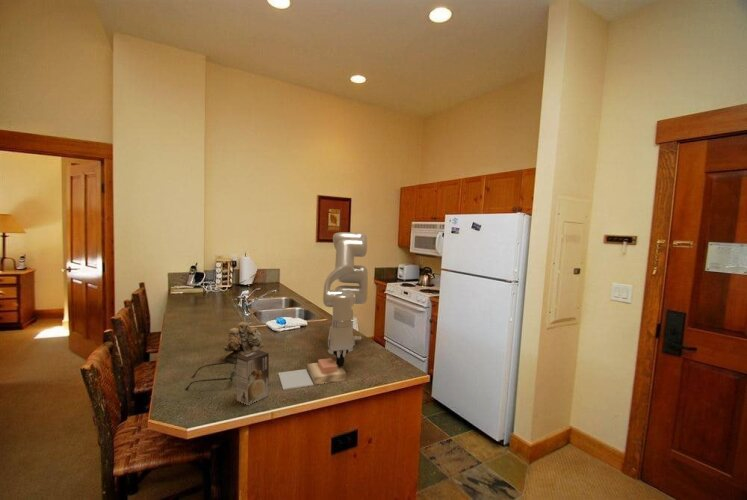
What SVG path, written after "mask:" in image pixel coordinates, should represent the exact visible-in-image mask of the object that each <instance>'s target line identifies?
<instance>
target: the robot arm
mask: <svg viewBox="0 0 747 500" xmlns="http://www.w3.org/2000/svg"><path fill="white" fill-rule="evenodd" d="M332 242H333V246H334V249H335V251H336V252H335V263H334V265H335V267H334V269H333V270H332V271H331V272H330V273H329V274H328V276H327V277H326V279H325V282H324V286H323V294H322V297H323V298H322V301H323V305H324V306H325V307H328V308H332V323H331V325H330V327H329V332H328V338H327V347H328V350H327V352H328V354H331V355H334V356H335V357H336V360H335V361H336V363H337V365H338V366H339V367H342V368H343V367H344V364H345V358H346V355H347V354H348V353H350V352H352V351H354V348H353V347H354V346H356V341H362V336H360V335H359V336H358V335H354V334H353V333H354V332H353V331H354V310H353V309H352V307H353V306H354V305H362V304H363V305H364V304H365V303H366V302H367V301H368V287H369V286H368V284H369V283H368V280H369V274H368V273H369V272H368V269H367V267H366V266H365V265H361V264H360V265H359V264H358V265H355V257H357V258H358V257H361V258H363V257H365V256H366V255H367V252H368V237H367V235H366V234H365V233H362V232H346V231H343V232H342V231H341V232H335V233H334V234H333V236H332ZM337 280H338V281H339V282H340V283H343V284H344V285H338V286H336V287H335V288H334V289H331V286H332V284H333V283H334V282H335V281H337ZM345 284H357V285H345Z"/></svg>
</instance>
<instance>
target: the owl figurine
mask: <svg viewBox="0 0 747 500" xmlns="http://www.w3.org/2000/svg"><path fill="white" fill-rule="evenodd" d="M261 335H262V334H261V333H260V332H259V330H258V328H257V327H251V328H249V329H248V323H247V322H245V321H241V322H239V323H238V324H237V325H236V327H232V328H230V329H229V331H228V337H227V344H225V345H224V346H223V347H222V349H223V350H224V352H231V353H229V354H228V355H226V356H225V358H224V361H225V362H231V361H237V357H239V356H241V355H244V354H247V353H250V352H253V351H256V350H259V351H261V349H262V348H263V347H264V346H265V345H264V343H262V336H261ZM230 364H232V365H233V364H234V365H235V363H230Z"/></svg>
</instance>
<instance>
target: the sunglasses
mask: <svg viewBox="0 0 747 500" xmlns="http://www.w3.org/2000/svg"><path fill="white" fill-rule="evenodd" d="M231 363H235V364H234V366H233V369H232V372H231V373H230V374H231V375H230V377H223V378H220V377H219V378H211V379H200V380H195V381H192V382H190V383H189V384H188V386H187V387H186V388H185V390H187V391H188V390H189V388H190V386H191V385H192V384H194V383H198V382H199V383H200V382H207V381H208V382H209V381H210V382H212V381H226V380H230V387H231V386H232V384H233V380H234V376H235V373H236V371H237V361H231V362H226V361H225V362H219V363H217V362H216V363H211V364H206V365H203V366H200V367H199V368H198V369H197V370H196V371H195V372H194V374H193V375H192V376H191V379H194V378H195V377H196V375H197V373H198V371H200V370H201V369H203V368H205V367H209V366H217V365H227V364H231Z"/></svg>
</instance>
